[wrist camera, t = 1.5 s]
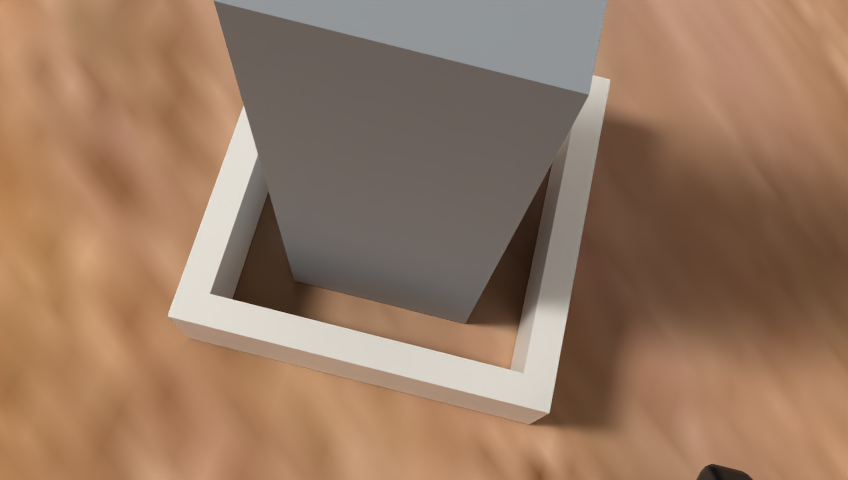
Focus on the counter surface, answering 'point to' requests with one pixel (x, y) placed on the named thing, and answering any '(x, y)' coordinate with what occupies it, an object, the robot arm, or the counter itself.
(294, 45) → the slate block
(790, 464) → the counter surface
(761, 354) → the counter surface
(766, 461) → the counter surface
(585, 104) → the tray
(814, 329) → the counter surface
